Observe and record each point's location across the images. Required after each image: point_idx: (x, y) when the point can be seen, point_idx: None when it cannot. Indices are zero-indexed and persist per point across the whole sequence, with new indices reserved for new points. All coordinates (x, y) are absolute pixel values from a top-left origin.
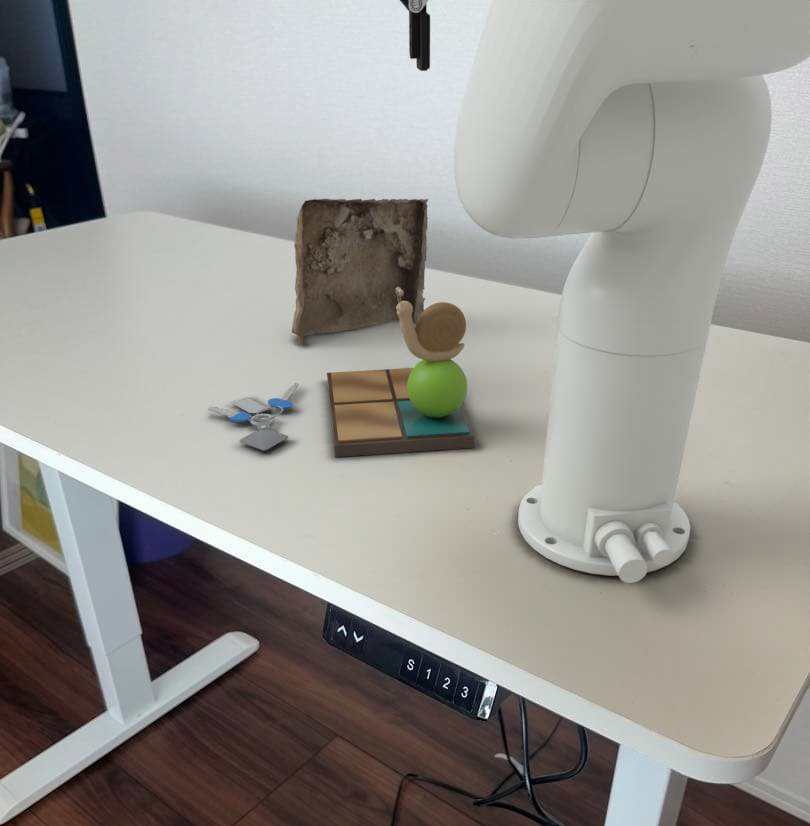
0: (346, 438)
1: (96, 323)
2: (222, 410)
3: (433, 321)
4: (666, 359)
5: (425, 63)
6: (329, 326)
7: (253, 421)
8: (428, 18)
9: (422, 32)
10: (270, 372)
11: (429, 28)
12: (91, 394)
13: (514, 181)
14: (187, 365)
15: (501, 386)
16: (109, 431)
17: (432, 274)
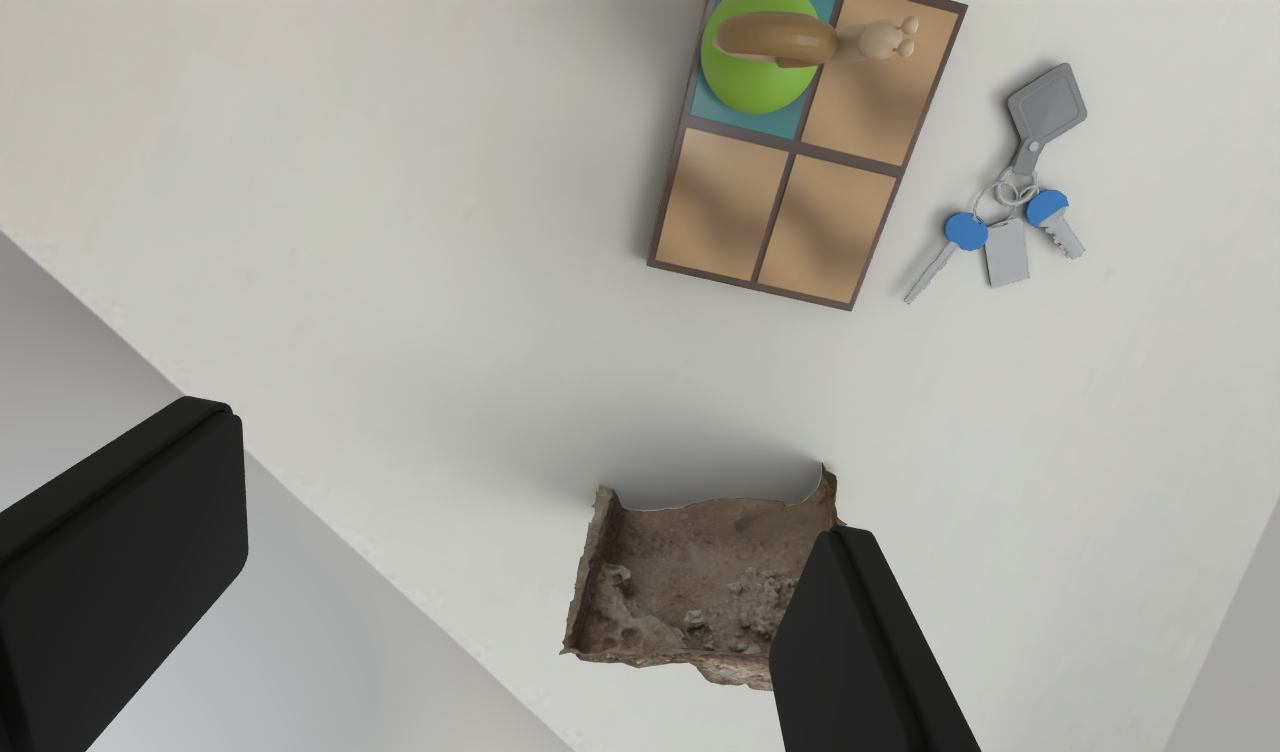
0: (942, 16)
1: (1079, 645)
2: (1064, 238)
3: (809, 15)
4: None
5: (857, 538)
6: (757, 511)
7: (1035, 180)
8: (916, 734)
9: (929, 662)
10: (913, 381)
11: (886, 679)
12: (1198, 398)
13: None
14: (1021, 452)
15: (568, 185)
16: (1234, 254)
17: (504, 668)
